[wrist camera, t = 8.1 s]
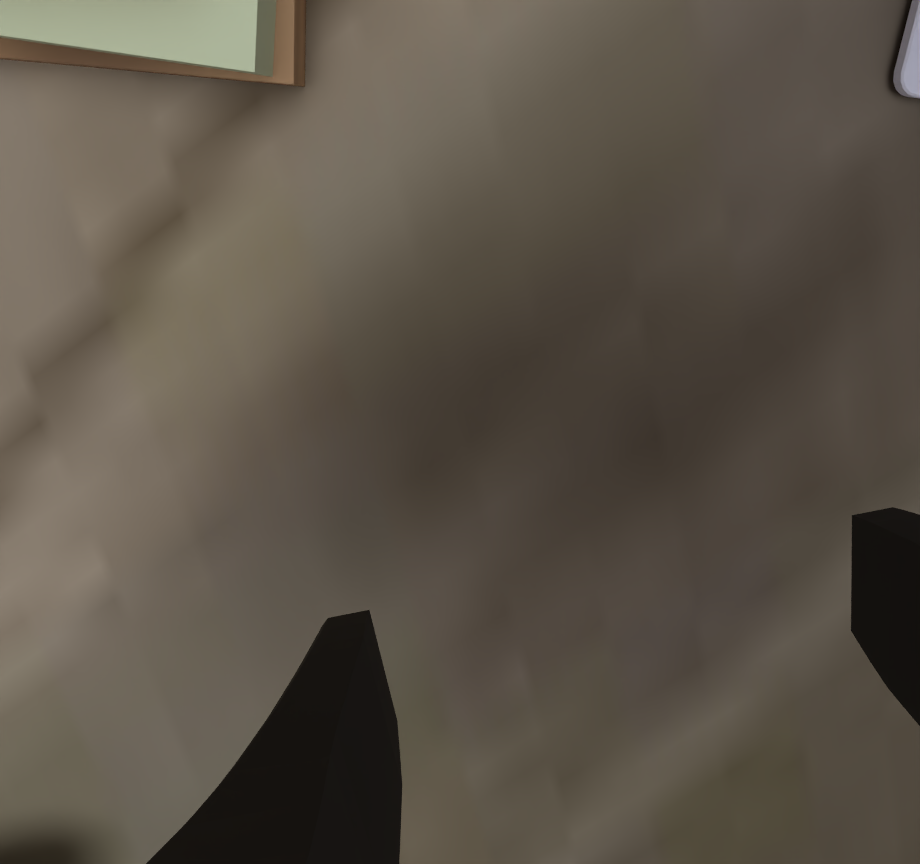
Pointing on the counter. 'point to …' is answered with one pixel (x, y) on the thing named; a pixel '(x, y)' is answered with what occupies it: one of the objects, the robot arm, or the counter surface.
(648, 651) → the counter surface
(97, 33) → the sage block
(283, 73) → the walnut slab
